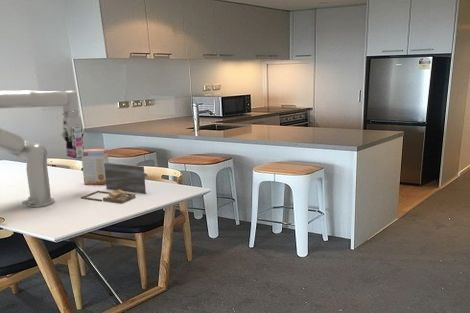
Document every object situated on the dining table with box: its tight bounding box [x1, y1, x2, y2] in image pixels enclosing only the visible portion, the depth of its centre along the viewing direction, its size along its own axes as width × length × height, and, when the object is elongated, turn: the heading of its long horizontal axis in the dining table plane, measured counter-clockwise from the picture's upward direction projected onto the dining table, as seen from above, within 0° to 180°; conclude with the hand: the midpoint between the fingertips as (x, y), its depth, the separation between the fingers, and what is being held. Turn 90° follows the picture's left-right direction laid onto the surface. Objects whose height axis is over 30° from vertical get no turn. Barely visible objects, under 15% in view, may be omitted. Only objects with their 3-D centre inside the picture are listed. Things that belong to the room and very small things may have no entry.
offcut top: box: [108, 189, 127, 199], centre depth 207 cm, size 6×8×2 cm
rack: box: [80, 162, 147, 205], centre depth 213 cm, size 20×26×16 cm
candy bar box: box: [65, 127, 85, 159], centre depth 217 cm, size 11×5×16 cm, turn 47°
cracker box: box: [81, 148, 109, 186], centre depth 241 cm, size 14×6×21 cm, turn 84°
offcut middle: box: [106, 195, 129, 200], centre depth 208 cm, size 7×9×2 cm
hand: (74, 147), depth 218 cm, fingers closed on candy bar box, 6 cm apart
